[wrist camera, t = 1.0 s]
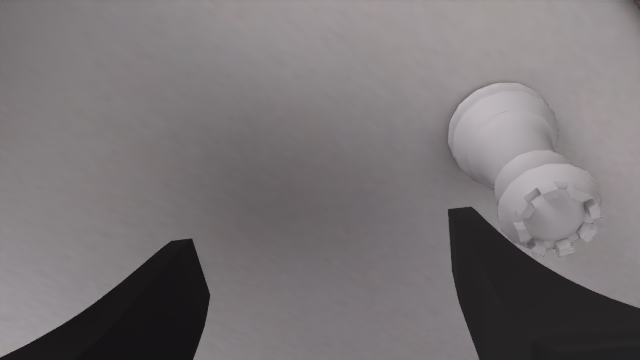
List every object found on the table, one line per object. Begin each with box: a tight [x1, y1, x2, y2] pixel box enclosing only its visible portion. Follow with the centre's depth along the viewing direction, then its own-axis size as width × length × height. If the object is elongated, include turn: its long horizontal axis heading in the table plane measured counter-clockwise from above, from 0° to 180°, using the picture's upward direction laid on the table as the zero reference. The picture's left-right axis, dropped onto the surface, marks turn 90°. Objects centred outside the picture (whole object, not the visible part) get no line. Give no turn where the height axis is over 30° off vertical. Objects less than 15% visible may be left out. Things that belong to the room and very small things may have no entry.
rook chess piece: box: [448, 83, 602, 257], centre depth 20 cm, size 4×4×8 cm
